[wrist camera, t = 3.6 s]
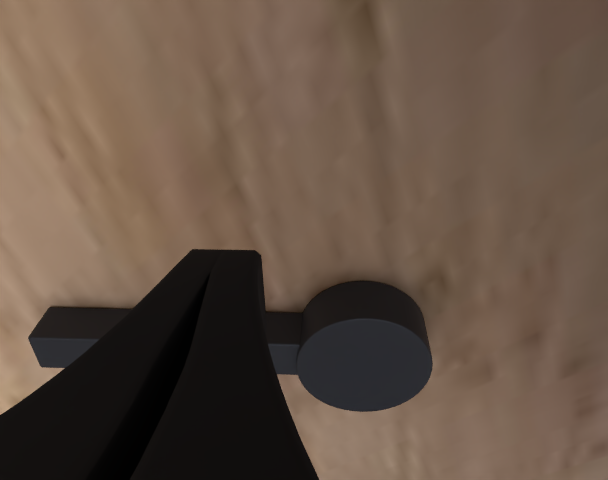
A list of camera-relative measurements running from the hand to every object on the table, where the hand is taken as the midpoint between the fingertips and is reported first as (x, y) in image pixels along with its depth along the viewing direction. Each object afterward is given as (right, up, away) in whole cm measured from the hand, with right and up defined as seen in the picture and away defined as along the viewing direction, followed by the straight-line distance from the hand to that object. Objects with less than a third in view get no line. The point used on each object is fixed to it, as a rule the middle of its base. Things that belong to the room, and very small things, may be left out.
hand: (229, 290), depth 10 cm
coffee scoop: (0, -2, +10) cm, 10 cm away
